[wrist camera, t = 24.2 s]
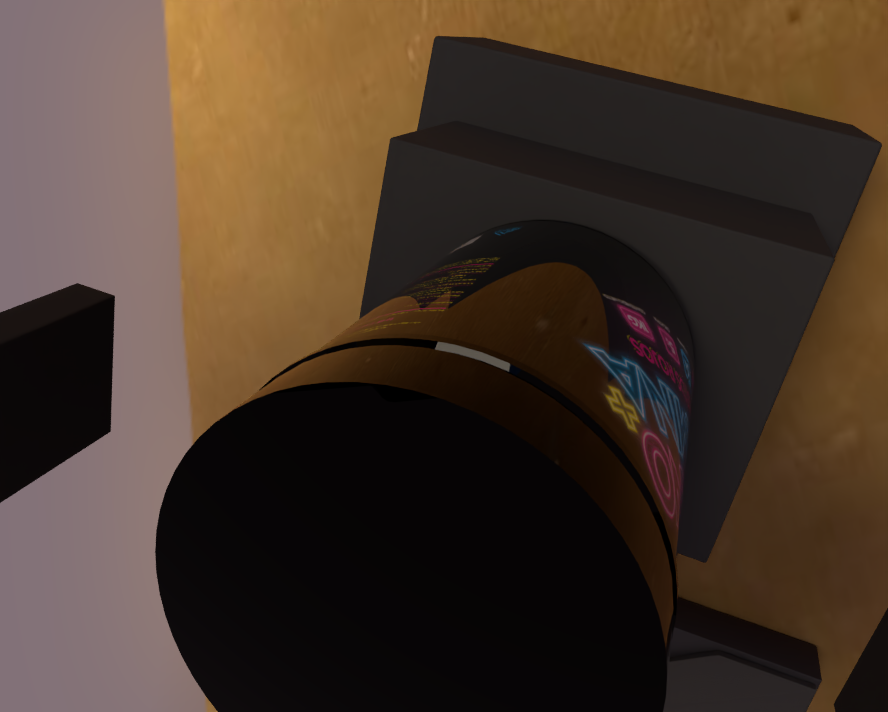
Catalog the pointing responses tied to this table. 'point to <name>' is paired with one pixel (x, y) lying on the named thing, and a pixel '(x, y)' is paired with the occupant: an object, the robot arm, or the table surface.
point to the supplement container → (449, 497)
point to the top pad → (654, 237)
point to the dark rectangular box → (654, 126)
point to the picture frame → (736, 666)
